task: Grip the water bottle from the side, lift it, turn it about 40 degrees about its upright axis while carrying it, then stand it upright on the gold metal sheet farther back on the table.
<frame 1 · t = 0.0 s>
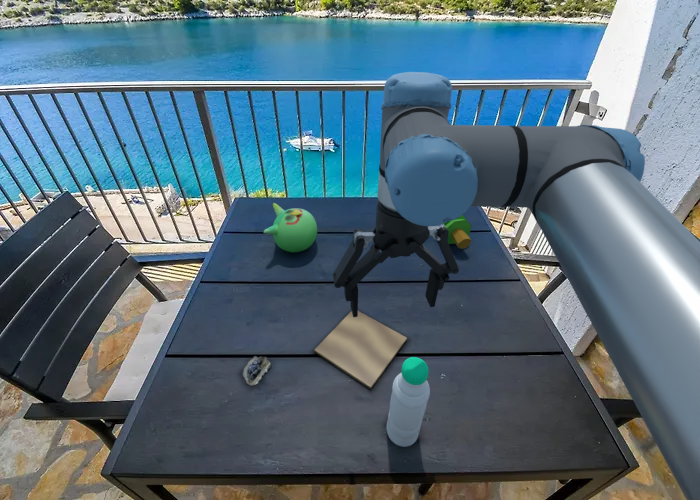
hand: (392, 306, 61), 34 cm above the table, tool pointing down, fingers open, 13 cm apart
toy bird: (295, 245, 129), on the table
water bottle: (402, 431, 77), on the table
gold metal sheet: (361, 346, 94), on the table
geode: (257, 371, 88), on the table
decorative tree: (446, 231, 136), on the table
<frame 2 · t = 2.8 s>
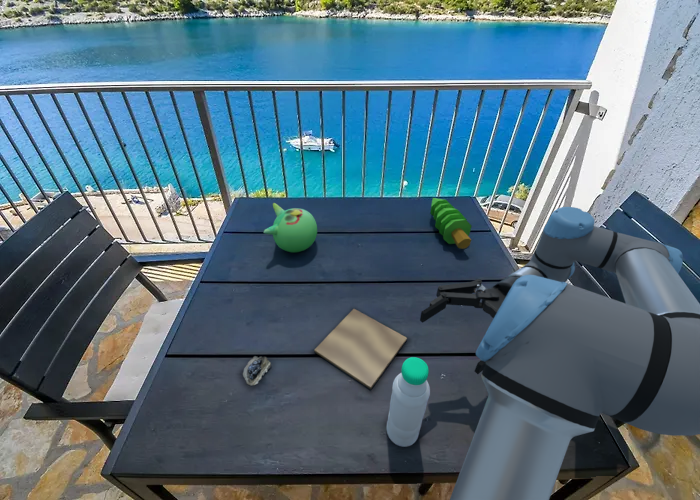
hand: (447, 341, 64), 26 cm above the table, tool horizontal, fingers open, 13 cm apart
nothing on the table moved.
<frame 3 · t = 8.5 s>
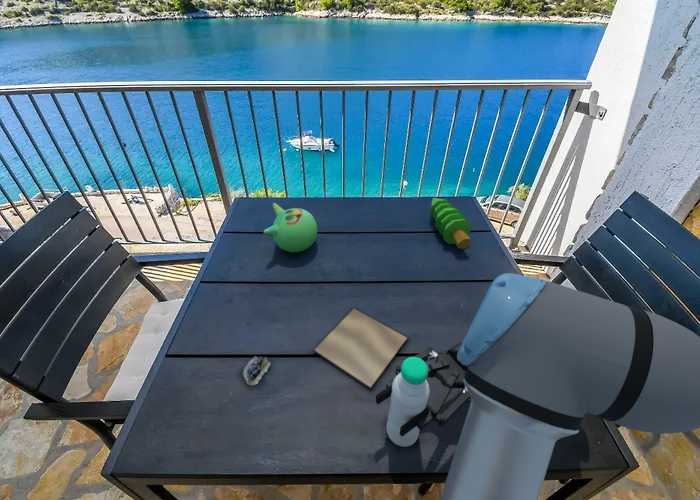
hand: (388, 415, 66), 13 cm above the table, tool horizontal, fingers closed on water bottle, 7 cm apart
water bottle: (402, 431, 77), on the table, touching gripper
everything else where it was.
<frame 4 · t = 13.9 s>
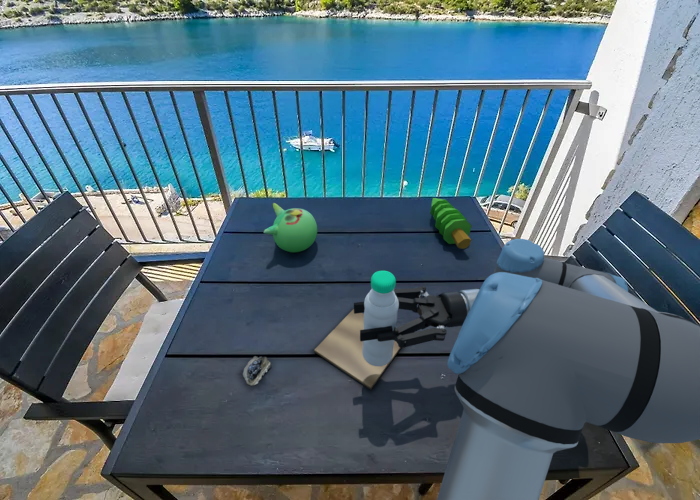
hand: (357, 321, 73), 22 cm above the table, tool horizontal, fingers closed on water bottle, 7 cm apart
water bottle: (377, 355, 82), point 9 cm above the table, touching gripper
everything else where it was.
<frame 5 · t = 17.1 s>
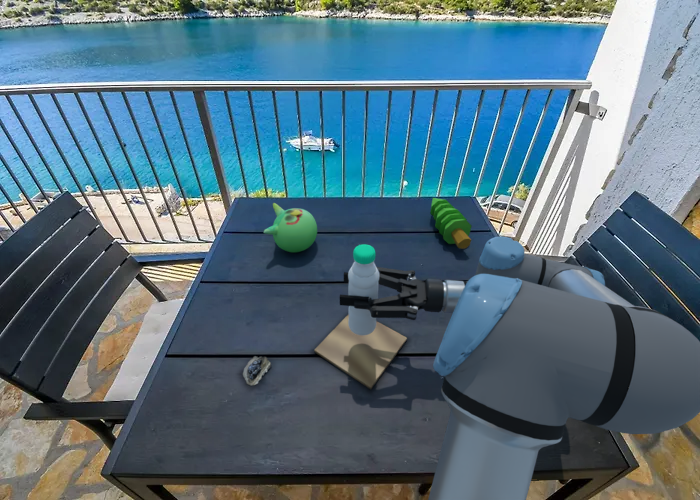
hand: (342, 288, 81), 21 cm above the table, tool horizontal, fingers closed on water bottle, 7 cm apart
water bottle: (362, 326, 89), point 8 cm above the table, touching gripper
everything else where it was.
when the fingers open (14 cm above the table, at t = 19.5 s): water bottle stays where it is, resting on gold metal sheet.
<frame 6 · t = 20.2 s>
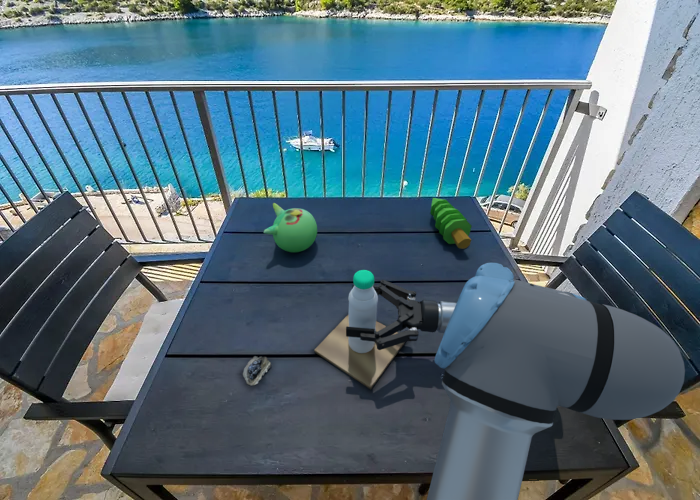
hand: (349, 309, 85), 14 cm above the table, tool horizontal, fingers open, 13 cm apart
water bottle: (361, 343, 94), point 1 cm above the table, touching gold metal sheet
everything else where it was.
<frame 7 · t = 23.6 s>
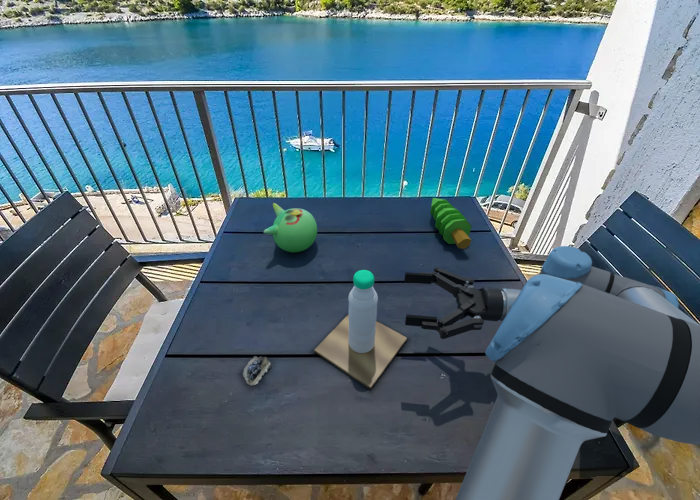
hand: (405, 297, 81), 20 cm above the table, tool horizontal, fingers open, 13 cm apart
nothing on the table moved.
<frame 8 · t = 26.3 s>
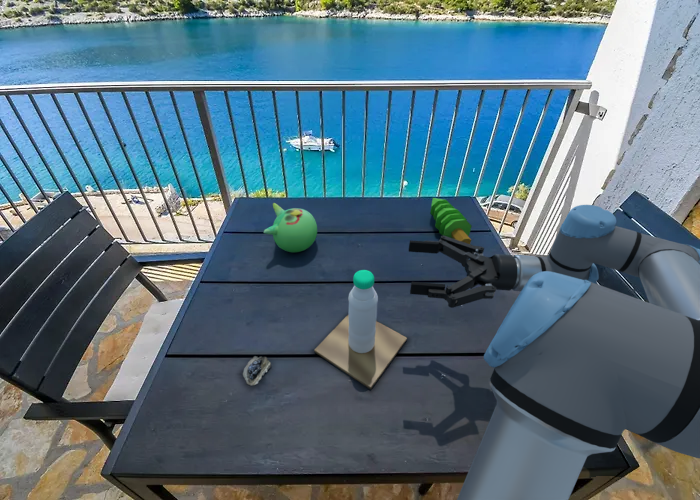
hand: (409, 265, 75), 30 cm above the table, tool horizontal, fingers open, 13 cm apart
nothing on the table moved.
at the end: water bottle inside the target area on the gold metal sheet (0.1 cm from its centre), point 0.8 cm above the gold metal sheet's base; water bottle tilted 0°; the gripper is holding nothing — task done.
